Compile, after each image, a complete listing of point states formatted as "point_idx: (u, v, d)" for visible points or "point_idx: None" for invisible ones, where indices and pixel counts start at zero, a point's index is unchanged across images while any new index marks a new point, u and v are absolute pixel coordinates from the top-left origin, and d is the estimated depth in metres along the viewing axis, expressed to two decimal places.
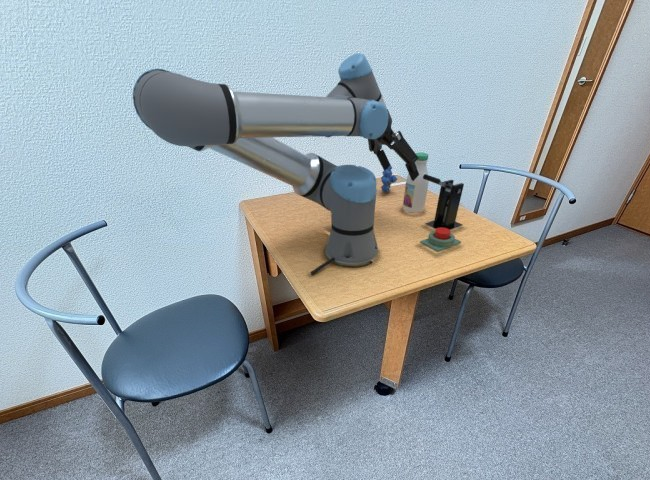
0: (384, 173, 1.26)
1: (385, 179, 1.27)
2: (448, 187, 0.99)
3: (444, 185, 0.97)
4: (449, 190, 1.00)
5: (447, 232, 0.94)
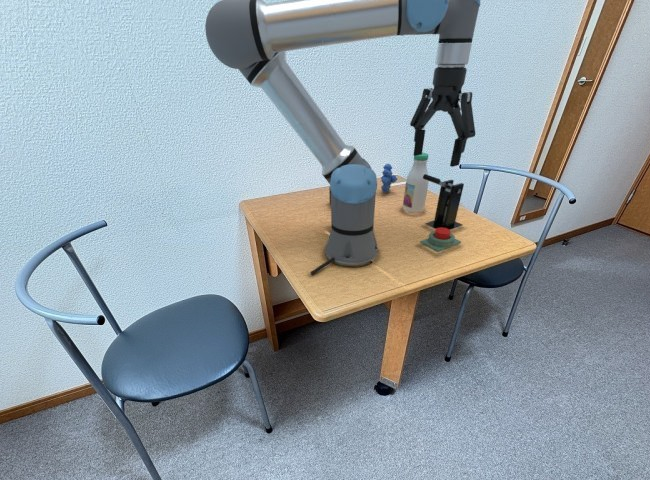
0: (384, 173, 1.26)
1: (385, 179, 1.27)
2: (448, 187, 0.99)
3: (444, 185, 0.97)
4: (449, 190, 1.00)
5: (447, 232, 0.94)
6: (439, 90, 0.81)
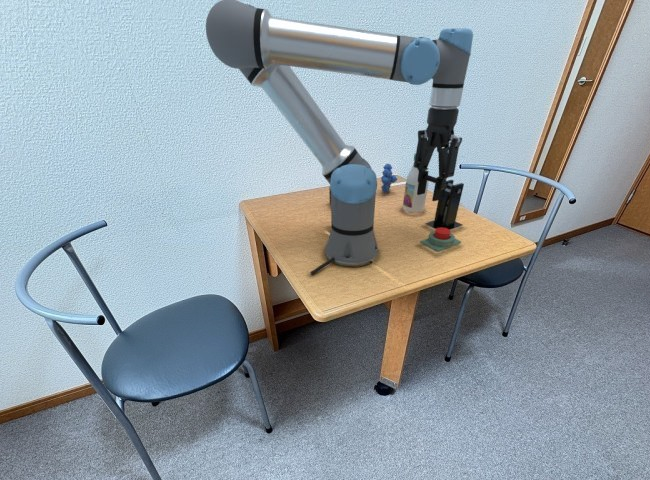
0: (384, 173, 1.26)
1: (385, 179, 1.27)
2: (448, 187, 0.99)
3: None
4: (449, 190, 1.00)
5: (447, 232, 0.94)
6: (432, 125, 0.86)
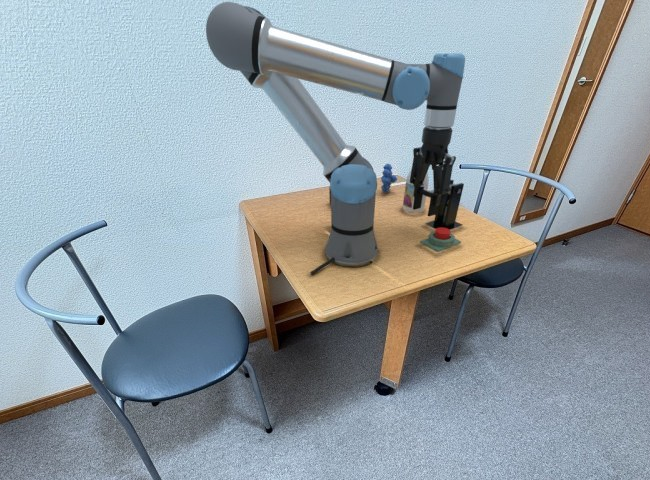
0: (384, 173, 1.26)
1: (385, 179, 1.27)
2: None
3: None
4: (449, 192, 1.00)
5: (447, 232, 0.94)
6: None
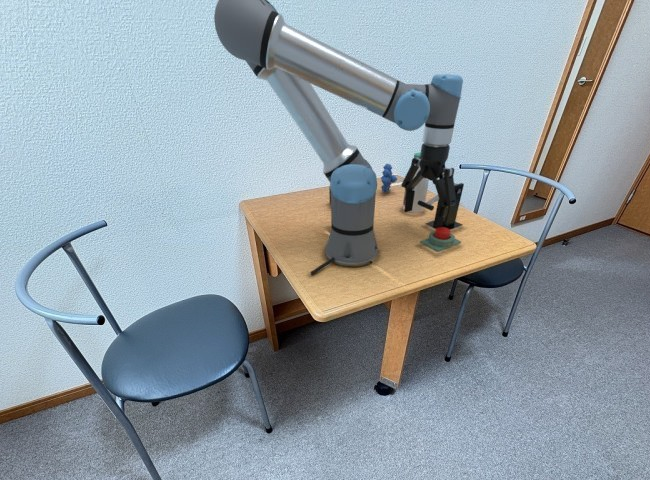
0: (384, 173, 1.26)
1: (385, 179, 1.27)
2: None
3: None
4: None
5: (447, 232, 0.94)
6: (426, 161, 0.91)
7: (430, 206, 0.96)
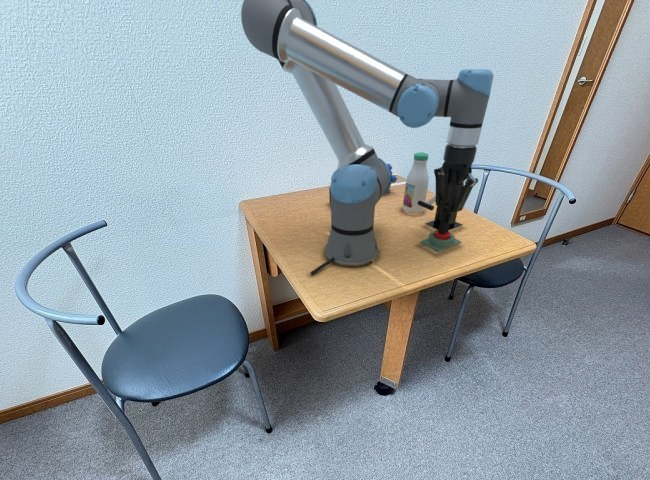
0: None
1: None
2: None
3: None
4: None
5: (447, 234, 0.95)
6: None
7: (430, 206, 0.96)
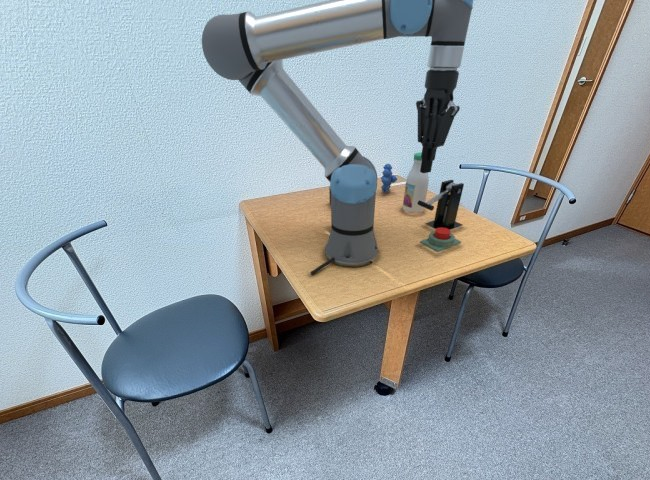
0: (384, 173, 1.26)
1: (385, 179, 1.27)
2: (447, 193, 1.00)
3: (441, 196, 0.99)
4: (449, 193, 1.01)
5: (447, 232, 0.94)
6: (429, 88, 0.81)
7: (430, 206, 0.96)
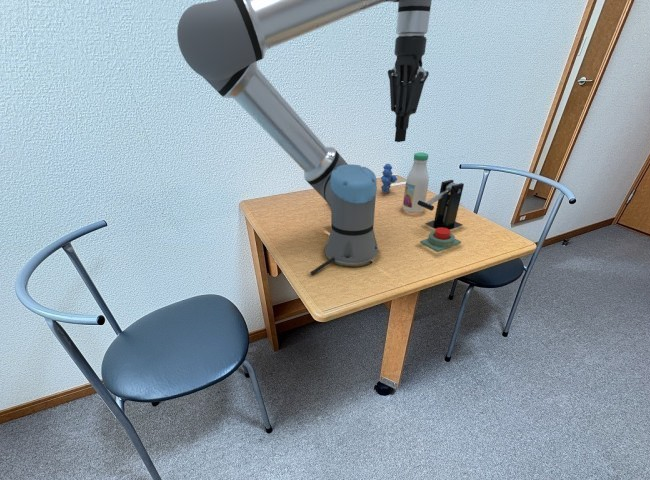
0: (384, 173, 1.26)
1: (385, 179, 1.27)
2: (447, 193, 1.00)
3: (441, 196, 0.99)
4: (449, 193, 1.01)
5: (447, 232, 0.94)
6: (399, 56, 0.83)
7: (430, 206, 0.96)
